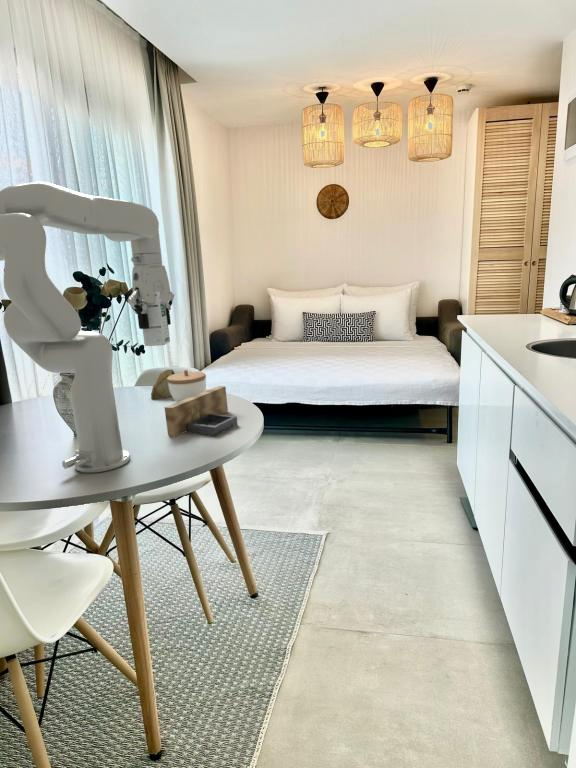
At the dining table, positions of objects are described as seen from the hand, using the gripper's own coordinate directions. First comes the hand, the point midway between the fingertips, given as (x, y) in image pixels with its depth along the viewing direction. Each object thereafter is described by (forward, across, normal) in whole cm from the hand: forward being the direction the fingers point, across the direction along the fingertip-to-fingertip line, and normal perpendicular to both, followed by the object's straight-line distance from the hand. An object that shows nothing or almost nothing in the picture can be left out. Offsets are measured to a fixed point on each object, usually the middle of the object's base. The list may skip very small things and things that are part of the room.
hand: (155, 326), depth 144 cm
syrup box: (+5, 0, 0) cm, 5 cm away
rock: (+29, +27, +25) cm, 47 cm away
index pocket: (+29, +3, -14) cm, 32 cm away
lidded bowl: (+29, +23, +11) cm, 38 cm away
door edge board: (+29, +6, -7) cm, 30 cm away
